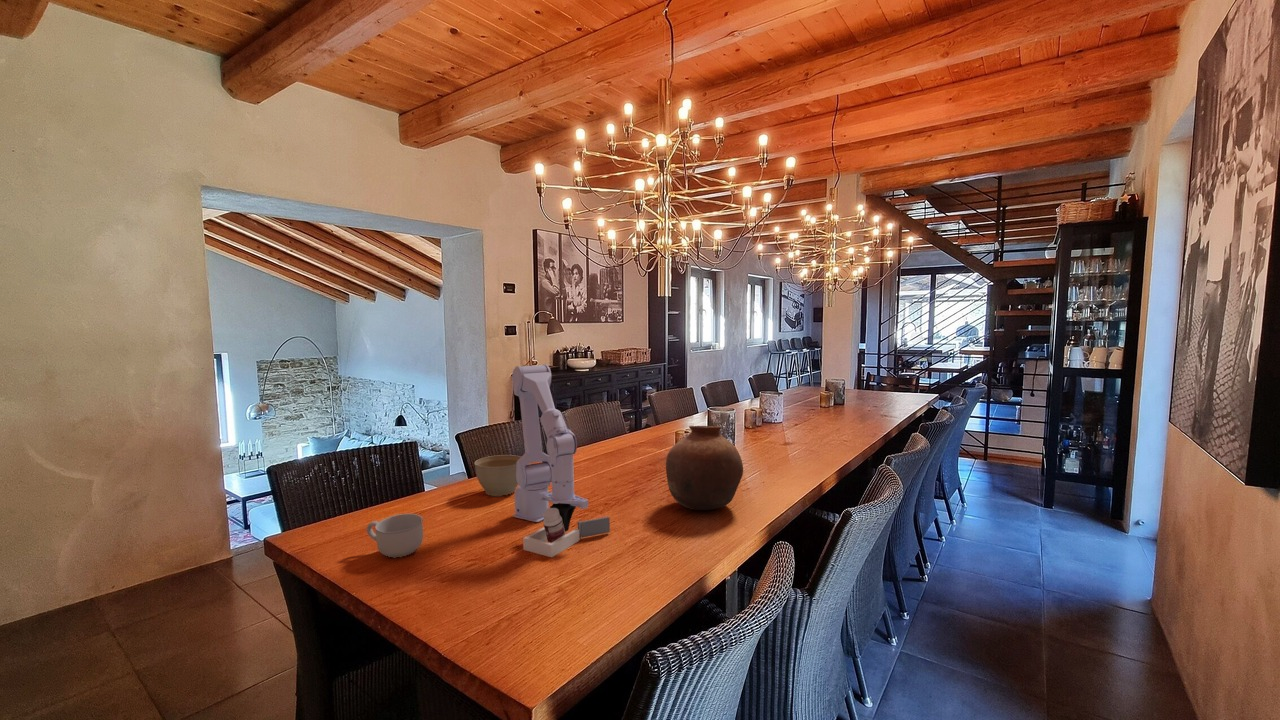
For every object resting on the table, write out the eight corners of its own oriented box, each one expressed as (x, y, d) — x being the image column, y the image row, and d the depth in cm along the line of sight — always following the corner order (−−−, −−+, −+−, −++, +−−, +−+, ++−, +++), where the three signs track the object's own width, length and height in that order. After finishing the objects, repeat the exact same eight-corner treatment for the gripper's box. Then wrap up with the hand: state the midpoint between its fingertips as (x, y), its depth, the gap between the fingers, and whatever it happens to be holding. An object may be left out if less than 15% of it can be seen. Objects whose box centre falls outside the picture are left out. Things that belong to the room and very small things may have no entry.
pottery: (689, 526, 144) (688, 436, 143) (653, 500, 165) (652, 422, 164) (758, 513, 153) (758, 428, 152) (716, 490, 175) (715, 415, 173)
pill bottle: (548, 537, 137) (541, 509, 135) (566, 533, 137) (560, 505, 135) (547, 548, 132) (540, 519, 130) (566, 543, 133) (560, 515, 130)
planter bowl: (519, 500, 168) (518, 466, 167) (468, 501, 168) (467, 467, 167) (530, 484, 184) (529, 454, 183) (484, 485, 184) (483, 454, 183)
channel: (523, 549, 131) (523, 538, 131) (552, 534, 140) (551, 523, 140) (551, 557, 126) (551, 545, 126) (579, 540, 136) (579, 529, 136)
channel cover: (578, 539, 136) (578, 522, 136) (577, 537, 137) (577, 521, 137) (609, 532, 140) (609, 516, 140) (608, 531, 141) (608, 515, 140)
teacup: (433, 546, 134) (432, 515, 133) (401, 565, 124) (399, 532, 123) (390, 539, 138) (388, 510, 138) (355, 557, 128) (354, 525, 128)
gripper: (530, 480, 137) (532, 531, 138) (575, 488, 129) (577, 541, 130) (548, 473, 143) (549, 522, 144) (592, 480, 136) (593, 531, 137)
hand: (564, 530), depth 138 cm, fingers closed, pressing on pill bottle
